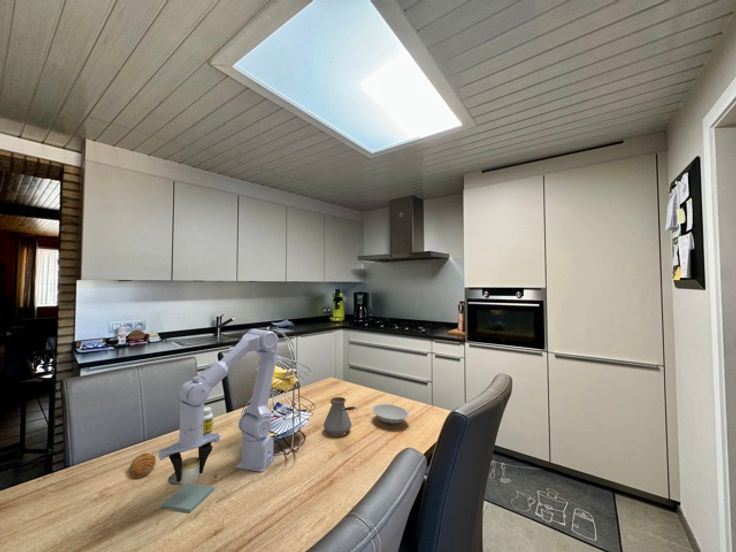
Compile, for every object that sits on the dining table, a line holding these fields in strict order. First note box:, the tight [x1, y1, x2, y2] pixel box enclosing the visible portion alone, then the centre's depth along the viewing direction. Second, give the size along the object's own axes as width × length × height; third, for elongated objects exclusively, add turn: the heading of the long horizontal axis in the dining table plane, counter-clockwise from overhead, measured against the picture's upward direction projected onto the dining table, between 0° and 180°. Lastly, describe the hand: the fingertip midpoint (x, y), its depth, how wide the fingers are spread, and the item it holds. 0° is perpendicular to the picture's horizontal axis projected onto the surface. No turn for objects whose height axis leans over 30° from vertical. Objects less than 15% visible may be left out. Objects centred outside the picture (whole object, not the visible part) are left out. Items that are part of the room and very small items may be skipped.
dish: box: [372, 403, 409, 425], centre depth 133 cm, size 18×14×5 cm
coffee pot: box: [323, 396, 358, 436], centre depth 120 cm, size 21×12×15 cm, turn 29°
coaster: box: [160, 483, 215, 514], centre depth 83 cm, size 9×9×1 cm
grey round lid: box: [168, 471, 181, 485], centre depth 93 cm, size 8×8×2 cm
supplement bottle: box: [203, 406, 214, 435], centre depth 120 cm, size 5×5×10 cm
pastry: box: [129, 452, 156, 479], centre depth 95 cm, size 9×7×4 cm
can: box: [179, 456, 200, 485], centre depth 84 cm, size 5×5×4 cm
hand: (189, 476), depth 83 cm, fingers closed on can, 5 cm apart
